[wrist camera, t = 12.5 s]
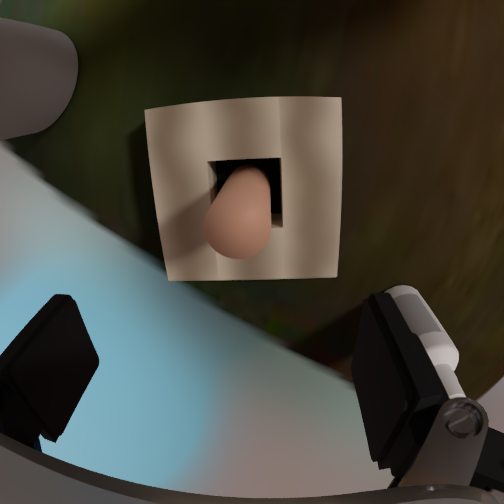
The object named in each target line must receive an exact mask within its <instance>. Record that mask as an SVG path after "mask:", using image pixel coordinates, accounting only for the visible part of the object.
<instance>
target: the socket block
mask: <svg viewBox="0 0 504 504" xmlns="http://www.w3.org/2000/svg"><path fill="white" fill-rule="evenodd" d="M145 121H146V132H147V143H148V152H149V161H150V169H151V178H152V185H153V193H154V200H155V207H156V213H157V220H158V226H159V232H160V238H161V244H162V249H163V255H164V260H165V266H166V271H167V276H168V281H206V280H260V279H296V278H325V277H337V268H338V254H339V239H340V220H341V194H342V107H341V98H337V97H257V98H240V99H226V100H215V101H205V102H196V103H188V104H180V105H173V106H166V107H160V108H154V109H148V110H145ZM256 158H280V190H281V214H271V235H270V238H269V241H268V243H267V244H266V246H265V247H264V248H263V249H262V250H261V251H260V252H259V253H257V254H256V255H254V256H252V257H249V258H245V259H231V258H228V257H225V256H222V255H221V254H219V253H217V252H216V251H215V250H214V249H213V248H212V247H211V246H210V245H209V243H208V242H207V240H206V237H205V234H204V229H203V224H204V218H205V215H206V213H207V211H208V209H209V208H210V206H211V204H212V203H213V201H214V200H215V198H216V196H217V195H218V188H217V176H216V163H215V161H220V160H236V159H256Z"/></svg>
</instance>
